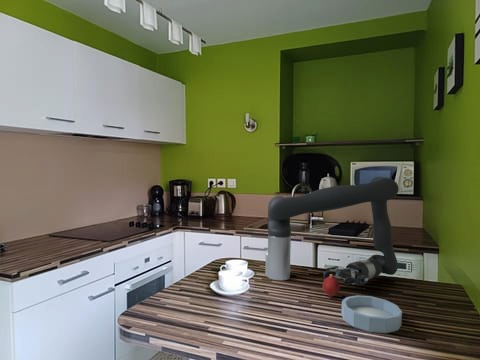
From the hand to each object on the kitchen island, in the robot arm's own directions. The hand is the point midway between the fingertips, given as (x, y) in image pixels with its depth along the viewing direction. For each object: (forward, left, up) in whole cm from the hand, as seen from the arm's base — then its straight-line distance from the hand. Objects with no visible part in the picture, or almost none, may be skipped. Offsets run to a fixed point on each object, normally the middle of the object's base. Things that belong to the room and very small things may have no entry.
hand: (334, 278), depth 115 cm
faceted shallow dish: (+16, -10, -6) cm, 20 cm away
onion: (0, -1, -6) cm, 6 cm away
